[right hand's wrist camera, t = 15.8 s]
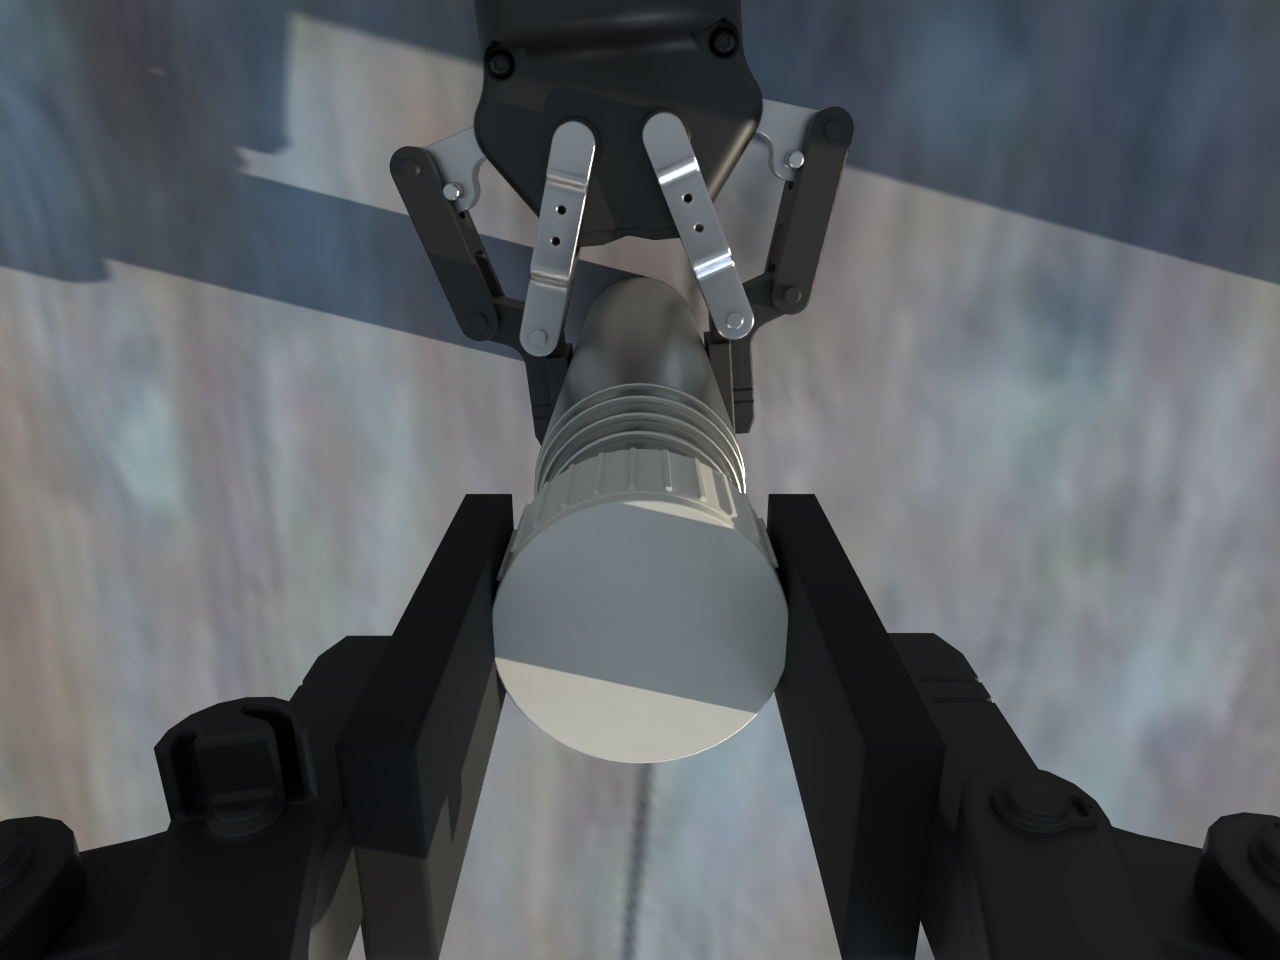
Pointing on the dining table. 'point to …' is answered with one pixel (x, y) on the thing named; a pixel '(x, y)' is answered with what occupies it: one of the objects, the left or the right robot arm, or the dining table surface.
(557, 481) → the cap
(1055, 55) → the dining table surface
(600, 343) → the bottle
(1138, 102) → the dining table surface
